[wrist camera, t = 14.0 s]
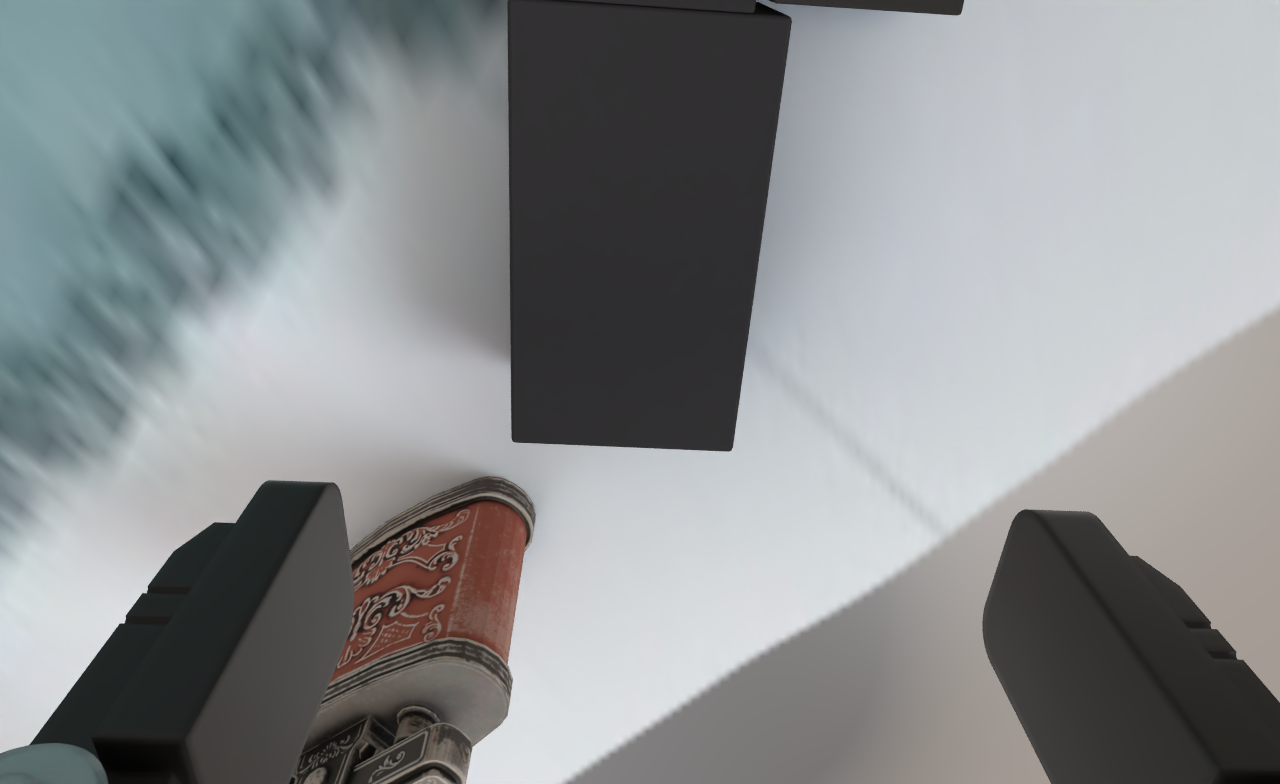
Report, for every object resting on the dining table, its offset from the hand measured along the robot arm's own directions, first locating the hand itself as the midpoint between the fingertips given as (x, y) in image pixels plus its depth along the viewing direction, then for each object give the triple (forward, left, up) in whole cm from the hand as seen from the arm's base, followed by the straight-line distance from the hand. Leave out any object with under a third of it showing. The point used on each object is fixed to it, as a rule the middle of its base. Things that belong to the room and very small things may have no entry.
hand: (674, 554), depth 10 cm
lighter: (+6, +11, -14) cm, 19 cm away
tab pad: (0, -2, -14) cm, 14 cm away
